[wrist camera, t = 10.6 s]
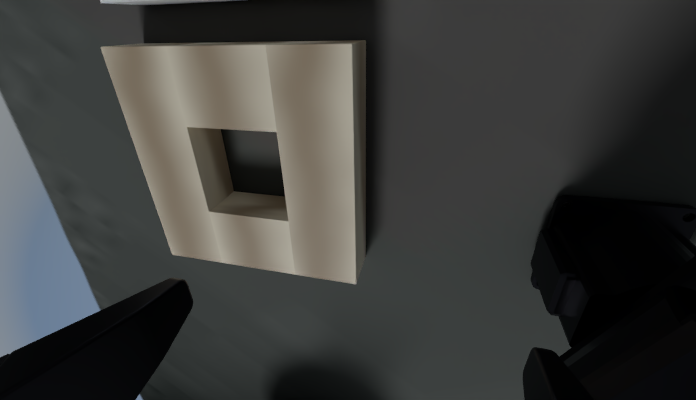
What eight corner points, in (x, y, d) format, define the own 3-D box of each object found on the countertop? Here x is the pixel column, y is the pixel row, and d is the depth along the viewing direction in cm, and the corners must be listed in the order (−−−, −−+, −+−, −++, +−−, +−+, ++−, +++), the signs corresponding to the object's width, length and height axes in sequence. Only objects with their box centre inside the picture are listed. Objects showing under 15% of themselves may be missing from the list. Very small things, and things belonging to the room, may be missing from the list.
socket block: (365, 40, 17) (352, 43, 15) (365, 255, 24) (356, 284, 21) (143, 43, 20) (100, 46, 18) (198, 232, 27) (172, 254, 24)
